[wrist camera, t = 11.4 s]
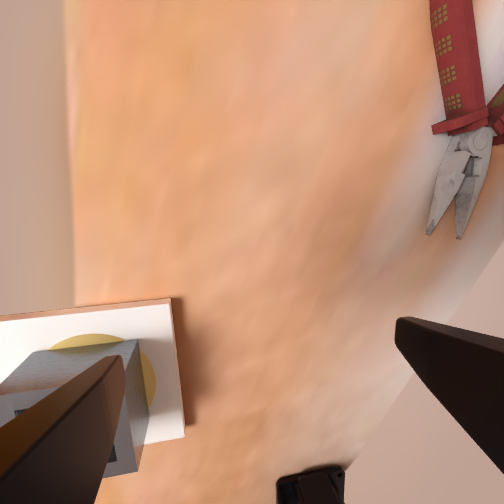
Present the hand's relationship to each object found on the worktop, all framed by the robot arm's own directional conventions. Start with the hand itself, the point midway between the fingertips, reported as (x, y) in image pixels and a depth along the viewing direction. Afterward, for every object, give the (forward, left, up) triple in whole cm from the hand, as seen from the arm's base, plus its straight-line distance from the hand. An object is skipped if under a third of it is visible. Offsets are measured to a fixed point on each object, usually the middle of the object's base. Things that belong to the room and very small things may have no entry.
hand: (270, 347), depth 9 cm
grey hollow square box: (-8, +10, -10) cm, 16 cm away
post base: (-8, +10, -12) cm, 17 cm away
